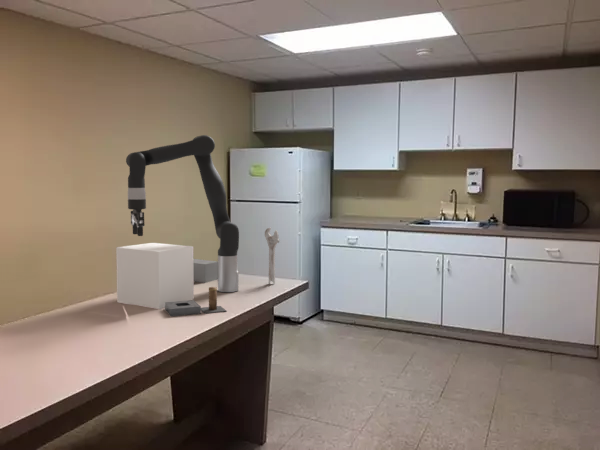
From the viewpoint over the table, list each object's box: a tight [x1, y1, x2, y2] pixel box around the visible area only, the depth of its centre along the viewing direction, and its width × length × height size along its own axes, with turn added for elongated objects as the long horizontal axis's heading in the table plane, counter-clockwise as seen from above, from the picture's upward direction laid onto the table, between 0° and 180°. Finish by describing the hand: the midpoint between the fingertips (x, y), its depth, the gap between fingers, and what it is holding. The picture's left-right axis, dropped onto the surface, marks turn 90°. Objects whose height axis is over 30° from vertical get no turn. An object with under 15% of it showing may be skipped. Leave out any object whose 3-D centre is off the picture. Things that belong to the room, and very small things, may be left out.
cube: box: [115, 242, 195, 310], centre depth 232 cm, size 25×21×24 cm
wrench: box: [264, 227, 281, 285], centre depth 267 cm, size 8×2×30 cm, turn 70°
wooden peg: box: [208, 286, 218, 310], centre depth 216 cm, size 3×3×9 cm
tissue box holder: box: [193, 258, 218, 284], centre depth 285 cm, size 25×23×11 cm
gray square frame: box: [164, 299, 202, 317], centre depth 214 cm, size 12×12×3 cm
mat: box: [201, 305, 227, 315], centre depth 217 cm, size 9×9×1 cm
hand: (137, 235), depth 231 cm, fingers open, 8 cm apart
